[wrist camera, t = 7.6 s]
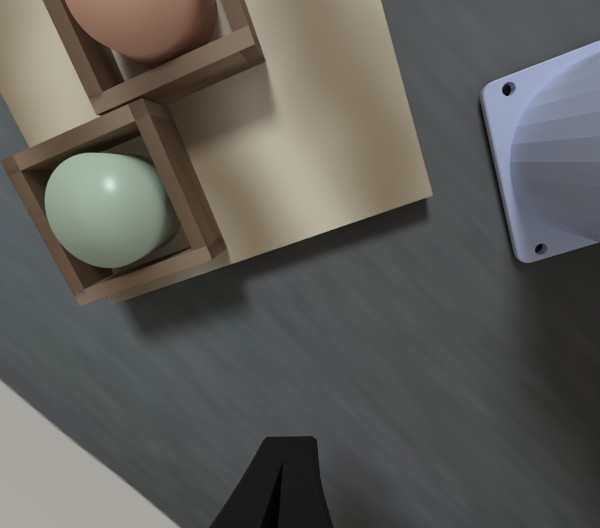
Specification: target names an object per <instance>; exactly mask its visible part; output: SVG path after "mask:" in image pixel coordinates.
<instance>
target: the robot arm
mask: <svg viewBox="0 0 600 528" xmlns="http://www.w3.org/2000/svg"><path fill="white" fill-rule="evenodd" d="M504 84H508V85H510V87H511V92H510V94H509V96H505V95H504V94H503V93H502V87H503V86H504ZM480 102H481V107H482V111H483V116H484V120H485V125H486V129H487V134H488V138H489V143H490V147H491V152H492V156H493V161H494V165H495V170H496V174H497V179H498V183H499V188H500V193H501V197H502V202H503V206H504V211H505V215H506V220H507V224H508V229H509V233H510V238H511V242H512V247H513V251H514V255H515V257H516V258H517V259H518V260H519V261H521V262H524V263H531V262H535V261H538V260H541V259H545V258H548V257H551V256H555V255H558V254H562V253H565V252H568V251H572V250H575V249H578V248H582V247H585V246H589V245H592V244H595V243H599V242H600V41H597V42H594V43H592V44H589V45H586V46H584V47H581V48H579V49H576V50H573V51H571V52H568V53H566V54H563V55H560V56H558V57H555V58H553V59H550V60H547V61H545V62H542V63H539V64H537V65H534V66H532V67H529V68H526V69H524V70H521V71H519V72H516V73H513V74H511V75H508V76H505V77H503V78H500V79H498V80H495V81H493V82H491V83H489V84H487V85H485V86H484V88H483V89H482V90H481V93H480ZM539 244H542V249H541V251H539V252H537V253H536V252H535V248H536V246H537V245H539ZM209 528H333V524H332V521H331V518H330V514H329V511H328V507H327V503H326V500H325V496H324V492H323V488H322V484H321V479H320V470H319V459H318V448H317V440H316V439H315V438H314V437H313V436H298V437H266V438H265V439H264V440H263V442H262V444H261V446H260V448H259V449H258V451H257V453H256V455H255V457H254V458H253V460H252V462H251V464H250V465H249V467H248V469H247V470H246V472H245V474H244V475H243V477H242V479H241V480H240V482H239V484H238V485H237V487H236V488H235V490H234V491H233V493H232V494H231V496H230V498H229V499H228V501H227V502H226V504H225V505H224V507H223V508H222V510H221V511H220V513H219V514H218V516H217V517H216V519H215V520H214V521H213V523H212V524H211V526H210V527H209Z"/></svg>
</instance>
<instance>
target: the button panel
mask: <svg viewBox="0 0 600 528" xmlns="http://www.w3.org/2000/svg"><path fill="white" fill-rule="evenodd" d="M215 9H216V10H215V22H214V28H213V31H212V35H211V37H210V40H209V42H208V44H206V45H204V46H202V47H200V48H197V49H195V50H193V51H191V52H189V53H187V54H184V55H182V56H180V57H178V58H176V59H173V60H171V61H169V62H167V63H165V64H163V65H160V66H158V67H156V68H154V69H151V68H148V67H146V66H143V65H141V64H139V63H137V62H136V61H134V60H132V59H130V58H128V57H126V56H124V55H122V54H120V53H118V52H116V51H114V50H112V49H111V48H109V47H107V46H105V45H103V44H101V43H100V42H98V41H96V40H95V39H94V38H92V37H91V36H90V35H89V34H88V33H87V32H86V31H85V30H83V28H82V27H81V26H80V25H79V24H78V22H77V21H76V20H75V18H74V17H73V15H72V14H71V12H70V10H69V8H68V6H67V4H66V2H65V0H0V92H1V94H2V96H3V98H4V100H5V102H6V104H7V105H8V107H9V109H10V111H11V113H12V115H13V117H14V119H15V121H16V123H17V125H18V127H19V128H20V130H21V132H22V134H23V136H24V138H25V140H26V142H27V144H28V146H29V148H28V149H26V150H24V151H21V152H19V153H17V154H15V155H12V156H10V157H8V158H6V159H3V160H1V161H0V162H1V163H2V165H3V167H4V169H5V171H6V173H7V174H8V176H9V178H10V180H11V182H12V184H13V185H14V187H15V189H16V191H17V193H18V195H19V196H20V198H21V200H22V202H23V204H24V206H25V207H26V209H27V211H28V213H29V215H30V217H31V218H32V220H33V222H34V224H35V226H36V228H37V229H38V231H39V233H40V235H41V237H42V238H43V240H44V242H45V244H46V246H47V248H48V249H49V251H50V253H51V255H52V257H53V259H54V260H55V262H56V264H57V266H58V268H59V270H60V271H61V273H62V275H63V277H64V279H65V281H66V282H67V284H68V286H69V288H70V290H71V292H72V293H73V295H74V297H75V299H76V301H77V303H78V304H79V306H81V305H84V304H86V303H89V302H92V301H95V300H98V299H101V298H104V297H108V299H109V301H110V303H111V305H113V304H116V303H119V302H122V301H125V300H128V299H130V298H133V297H136V296H139V295H142V294H145V293H148V292H151V291H154V290H157V289H160V288H163V287H166V286H169V285H172V284H174V283H177V282H180V281H183V280H186V279H189V278H192V277H195V276H198V275H201V274H204V273H207V272H210V271H213V270H216V269H218V268H221V267H224V266H227V265H230V264H233V263H236V262H239V261H242V260H245V259H248V258H251V257H254V256H257V255H259V254H262V253H265V252H268V251H271V250H274V249H277V248H280V247H283V246H286V245H289V244H292V243H295V242H298V241H301V240H303V239H306V238H309V237H312V236H315V235H318V234H321V233H324V232H327V231H330V230H333V229H336V228H339V227H342V226H345V225H347V224H350V223H353V222H356V221H359V220H362V219H365V218H368V217H371V216H374V215H377V214H380V213H383V212H386V211H389V210H391V209H394V208H397V207H400V206H403V205H406V204H409V203H412V202H415V201H418V200H421V199H424V198H427V197H430V196H432V195H433V194H432V190H431V187H430V183H429V179H428V175H427V172H426V168H425V164H424V160H423V157H422V153H421V149H420V145H419V142H418V138H417V134H416V130H415V127H414V123H413V119H412V115H411V112H410V108H409V104H408V101H407V97H406V93H405V89H404V86H403V82H402V78H401V74H400V71H399V67H398V63H397V59H396V56H395V52H394V48H393V44H392V41H391V37H390V33H389V29H388V26H387V22H386V18H385V14H384V11H383V7H382V3H381V0H215ZM83 153H111V154H133V155H139V156H143V157H146V158H148V159H151V160H152V161H153V162H154V164H155V167H156V169H157V171H158V173H159V176H160V178H161V180H162V182H163V185H164V187H165V189H166V191H167V194H168V196H169V198H170V200H171V203H172V205H173V207H174V209H175V212H176V214H177V216H178V218H179V221H180V223H181V224H180V227H179V229H178V232H177V233H176V235H175V236H174V237H173V239H172V240H171V241H170V242H169V243H168V244H166V245H165V246H163V247H162V248H160V249H158V250H156V251H154V252H152V253H150V254H148V255H146V256H144V257H142V258H140V259H138V260H136V261H134V262H132V263H130V264H128V265H125V266H122V267H116V268H103V267H97V266H93V265H90V264H88V263H85V262H83V261H82V260H80V259H78V258H77V257H75V256H74V255H72V254H71V253H70V252H69V251H67V250H66V249H65V248H64V246H63V245H62V244H61V243H60V242H59V240H58V239H57V238H56V236H55V234H54V233H53V231H52V229H51V227H50V225H49V222H48V219H47V215H46V210H45V192H46V187H47V184H48V181H49V179H50V177H51V175H52V173H53V172H54V170H55V169H56V168H57V167H58V166H59V165H60V164H61V163H62V162H64V161H65V160H66V159H68V158H70V157H72V156H75V155H78V154H83Z"/></svg>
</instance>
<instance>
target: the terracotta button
mask: <svg viewBox="0 0 600 528" xmlns="http://www.w3.org/2000/svg"><path fill="white" fill-rule="evenodd" d="M65 2H66V4H67V6H68V8H69V10H70V12H71V14H72V15H73V17H74V18H75V20H76V21H77V22H78V24H79V25H80V26H81V27H82V28H83V30H85V31H86V32H87V33H88V34H89V35H90V36H91V37H92V38H94V39H95V40H96V41H98V42H100V43H101V44H103V45H105V46H107V47H109V48H111V49H112V50H114V51H116V52H118V53H120V54H122V55H124V56H126V57H128V58H130V59H132V60H134V61H136V62H137V63H139V64H141V65H143V66H146V67H148V68H151V69H154V68H156V67H158V66H160V65H163V64H165V63H167V62H169V61H171V60H173V59H176V58H178V57H180V56H182V55H184V54H187V53H189V52H191V51H193V50H195V49H197V48H200V47H202V46H204V45H206V44H208V42H209V40H210V37H211V35H212V31H213V28H214V22H215V10H216V9H215V0H65Z"/></svg>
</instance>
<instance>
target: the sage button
mask: <svg viewBox="0 0 600 528" xmlns="http://www.w3.org/2000/svg"><path fill="white" fill-rule="evenodd" d="M45 210H46V215H47V219H48V222H49V225H50V227H51V229H52V231H53V233H54V234H55V236H56V238H57V239H58V240H59V242H60V243H61V244H62V245H63V246H64V248H65V249H66V250H67V251H69V252H70V253H71V254H72V255H74V256H75V257H77V258H78V259H80V260H82V261H83V262H85V263H88V264H90V265H93V266H97V267H103V268H116V267H122V266H125V265H128V264H130V263H132V262H134V261H136V260H138V259H140V258H142V257H144V256H146V255H148V254H150V253H152V252H154V251H156V250H158V249H160V248H162V247H163V246H165V245H166V244H168V243H169V242H170V241H171V240H172V239H173V237H174V236H175V235H176V233H177V232H178V229H179V227H180V224H181V223H180V221H179V218H178V216H177V214H176V212H175V209H174V207H173V205H172V203H171V200H170V198H169V196H168V194H167V191H166V189H165V187H164V185H163V182H162V180H161V178H160V176H159V173H158V171H157V169H156V167H155V164H154V162H153V161H152V160H151V159H148V158H146V157H143V156H139V155H133V154H111V153H83V154H78V155H75V156H72V157H70V158H68V159H66V160H65V161H64V162H62V163H61V164H60V165H59V166H58V167H57V168H56V169H55V170H54V172H53V173H52V175H51V177H50V179H49V181H48V184H47V187H46V192H45Z"/></svg>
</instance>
